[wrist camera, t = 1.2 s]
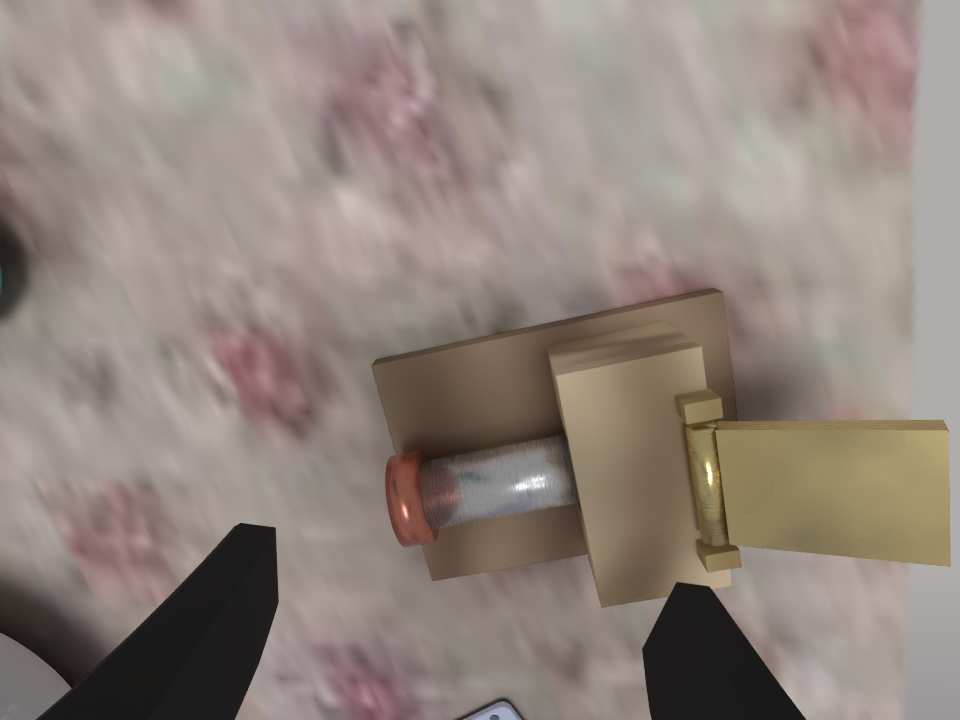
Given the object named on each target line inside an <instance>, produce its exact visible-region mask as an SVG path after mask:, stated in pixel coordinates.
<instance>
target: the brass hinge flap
mask: <svg viewBox="0 0 960 720" xmlns="http://www.w3.org/2000/svg"><path fill="white" fill-rule="evenodd" d="M685 428H686V436H687V443H688V450H689V457H690V464H691V471H692V478H693V485H694V493H695V500H696V507H697V514H698V521H699V528H700V535H701V540H702V541H703V542H704V543H706V544H708V545H711V546H722V545H725V544H727V543H730V545H735V546H745V547H755V548H766V549H776V550H786V551H796V552H806V553H816V554H826V555H836V556H846V557H856V558H867V559H877V560H887V561H897V562H907V563H917V564H928V565H937V566H947V567H950V496H949V495H950V492H949V430H948V428H947V426H946V424H945V422H944V420H859V421H718V423H717V424H716V423H715V422H714V421H711V420H708V421H703V422H697V423H692V424H686V426H685Z"/></svg>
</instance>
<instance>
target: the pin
mask: <svg viewBox="0 0 960 720" xmlns="http://www.w3.org/2000/svg"><path fill="white" fill-rule="evenodd" d="M385 482H386V498H387V505H388V511H389V516H390V520H391V524H392V527H393V530H394V533H395V535H396V537H397V539H398V541H399V543H400V544H401V545H402V546H403V547H410V546H415V545H421V544H426V543H432V542H435V541H436V540H437V538H438V534H439V528H443V527H449V526H454V525H460V524H465V523H471V522H476V521H482V520H487V519H493V518H498V517H504V516H509V515H515V514H520V513H526V512H531V511H537V510H542V509H548V508H553V507H559V506H564V505H570V504H575V503H580V501H579V496H578V491H577V486H576V481H575V476H574V470H573V465H572V460H571V455H570V450H569V445H568V440H567V437H566V434H563V435H558V436H553V437H548V438H543V439H538V440H532V441H527V442H522V443H517V444H512V445H507V446H501V447H496V448H491V449H486V450H481V451H476V452H470V453H465V454H460V455H455V456H450V457H445V458H439V459H434V460H429V461H428V459H427V457H426V455H425V454H424V452H423V451H421V450H418V451H413V452H408V453H403V454H398V455H393V456H391V457H390V458H389V460H388V463H387V467H386V480H385Z"/></svg>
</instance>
